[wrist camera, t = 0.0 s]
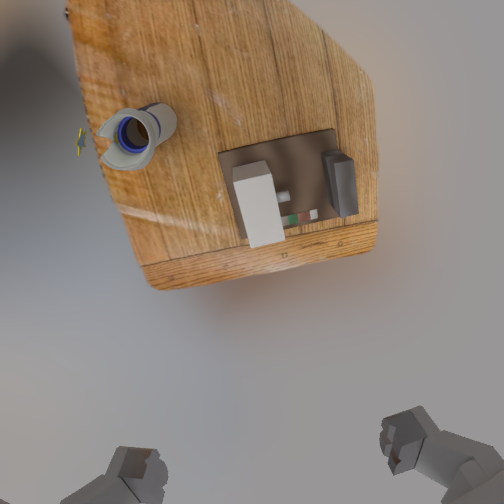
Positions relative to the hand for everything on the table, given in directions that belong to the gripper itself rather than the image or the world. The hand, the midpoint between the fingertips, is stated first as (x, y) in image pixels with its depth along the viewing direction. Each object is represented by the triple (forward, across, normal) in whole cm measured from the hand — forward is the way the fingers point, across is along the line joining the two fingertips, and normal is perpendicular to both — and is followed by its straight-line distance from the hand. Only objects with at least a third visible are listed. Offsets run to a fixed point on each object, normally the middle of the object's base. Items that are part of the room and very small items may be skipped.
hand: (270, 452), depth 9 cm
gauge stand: (+52, -8, -8) cm, 53 cm away
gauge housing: (+51, -4, -6) cm, 51 cm away
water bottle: (+47, +14, -24) cm, 54 cm away
